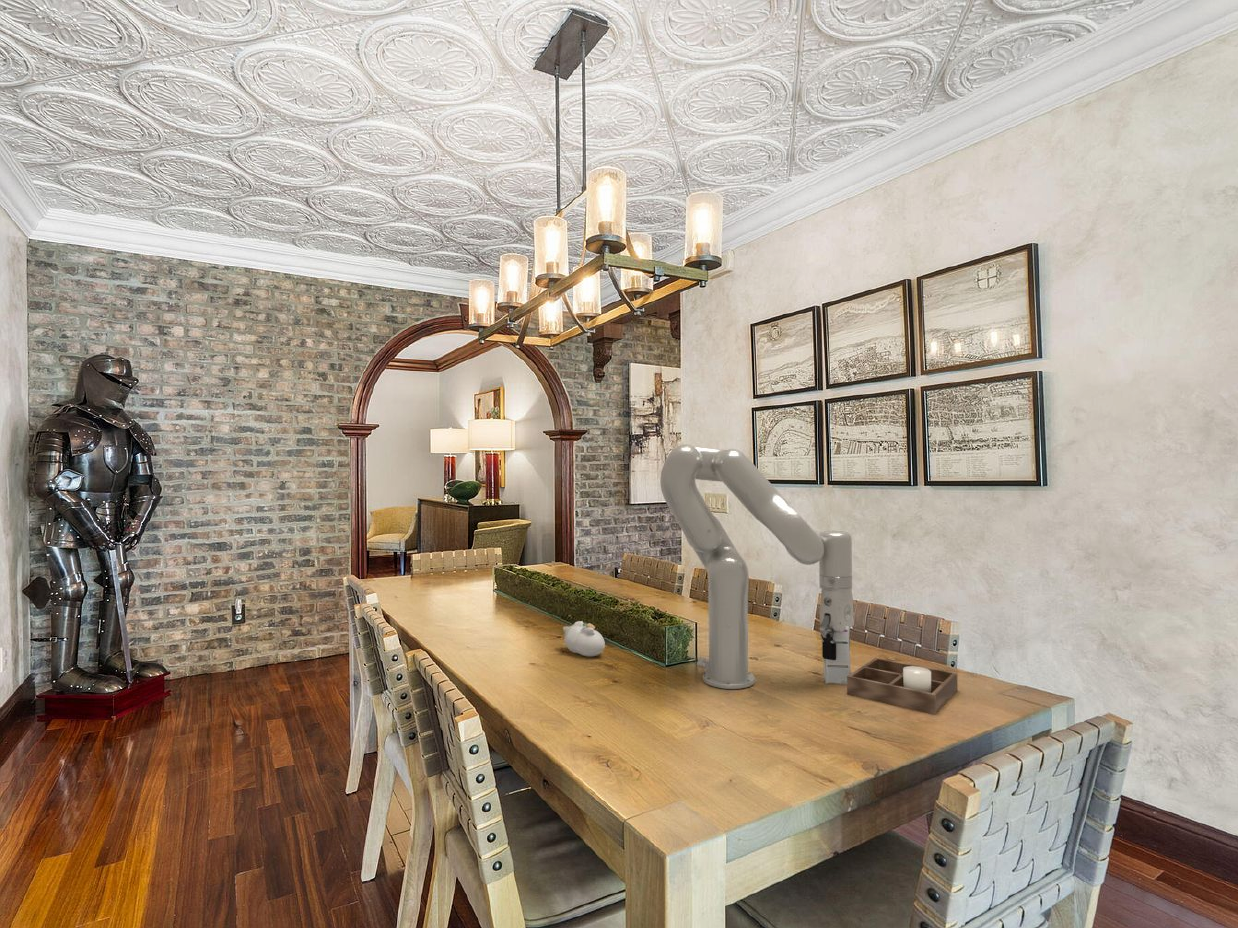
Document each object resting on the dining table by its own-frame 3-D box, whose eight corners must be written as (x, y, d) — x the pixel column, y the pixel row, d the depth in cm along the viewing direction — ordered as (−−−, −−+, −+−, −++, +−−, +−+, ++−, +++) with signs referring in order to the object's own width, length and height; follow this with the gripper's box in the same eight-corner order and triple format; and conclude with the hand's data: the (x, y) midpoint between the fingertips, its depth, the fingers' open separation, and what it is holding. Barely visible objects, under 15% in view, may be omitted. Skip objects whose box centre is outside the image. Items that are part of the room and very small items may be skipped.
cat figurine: (606, 624, 176) (568, 610, 186) (587, 644, 171) (550, 628, 181) (615, 649, 180) (578, 634, 190) (598, 669, 175) (560, 652, 185)
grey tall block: (851, 688, 150) (850, 626, 151) (825, 686, 152) (824, 625, 152) (847, 680, 156) (847, 621, 156) (822, 678, 157) (822, 620, 157)
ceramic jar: (900, 702, 138) (899, 670, 138) (908, 695, 142) (907, 664, 142) (927, 709, 135) (926, 675, 135) (934, 701, 139) (934, 669, 139)
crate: (847, 698, 144) (847, 676, 144) (875, 677, 158) (875, 657, 158) (935, 719, 132) (934, 694, 132) (957, 694, 146) (957, 672, 146)
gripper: (836, 589, 145) (837, 666, 145) (864, 579, 158) (865, 649, 158) (805, 585, 150) (806, 660, 150) (834, 575, 163) (835, 644, 163)
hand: (836, 654), depth 154 cm, fingers closed on grey tall block, 7 cm apart
